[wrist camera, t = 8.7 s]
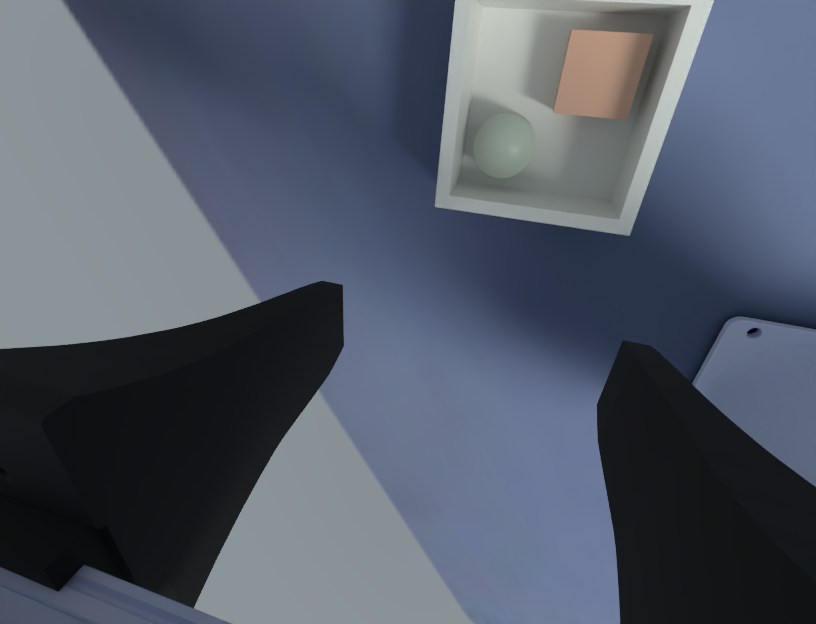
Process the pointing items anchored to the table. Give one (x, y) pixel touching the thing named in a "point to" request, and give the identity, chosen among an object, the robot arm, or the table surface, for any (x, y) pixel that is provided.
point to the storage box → (562, 106)
